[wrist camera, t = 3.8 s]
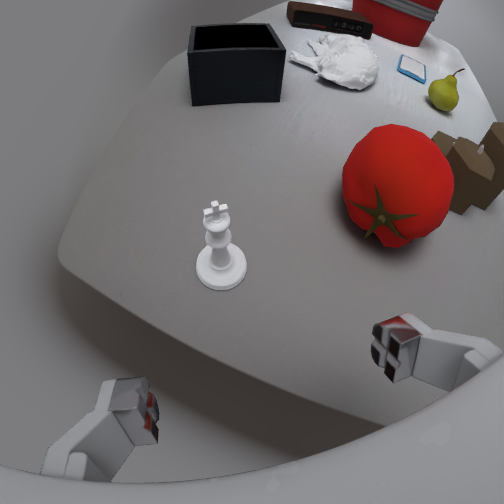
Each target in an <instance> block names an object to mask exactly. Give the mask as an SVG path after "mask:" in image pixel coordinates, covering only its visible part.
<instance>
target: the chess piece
mask: <svg viewBox="0 0 504 504" xmlns="http://www.w3.org/2000/svg"><path fill="white" fill-rule="evenodd" d="M211 206H212V208H208V209H205V210H203V213H204V218H203V224H204V227H205V228H206V230H207V232H206V235H205V241H206V243H207V244H208V246H206V247H205V248H204V249H203V250H202V251H201V252H200V254H199V255H198V258H197V261H196V272H197V275H198V277H199V279H200V280H201V282H202V283H203V284H204V285H206V286H207V287H209V288H211V289H215V290H228V289H231V288H233V287H235V286H237V285H238V284H239V283H240V282H241V281H242V280H243V279H244V277H245V275H246V272H247V262H246V258H245V255H244V253H243V252H242V251H241V249H240V248H238V247H237V246H236V245H234V244H232V243H230V242H231V239H232V235H231V232H230V231H229V229H228V227H229V225H230V216H229V215H228V213H227V212H228V207H227V204H222V205H219V204H218V201H213V202H211Z"/></svg>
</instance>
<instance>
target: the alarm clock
mask: <svg viewBox="0 0 504 504" xmlns="http://www.w3.org/2000/svg"><path fill="white" fill-rule="evenodd" d="M287 17H288V18H289V20H290V22H291V24H292V26H293V27H297V28H306V29H313V30H320V31H327V32H333V33H338V34H348V35H352V36H355V37H362V38H363V39H367V40H369V39H370V38H371V35H372V31H373V28H374V25H373V24H372V23H371V22H370V21H368V20H367V19H366V18H365V17H364V16H362V15H361V14H360V13H357V12H353V11H348V10H344V9H339V8H334V7H328V6H322V5H316V4H309V3H302V2H294V1H290V2H288V6H287Z"/></svg>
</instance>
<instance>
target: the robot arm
mask: <svg viewBox="0 0 504 504" xmlns="http://www.w3.org/2000/svg"><path fill="white" fill-rule="evenodd" d="M372 334H373V336H374V337H375V339H374V340H373V342H372V343H371V354H372V358H373V360H374V362H375V363H376V364H377V366H379V367H382V368H385V370H384V373H385V375H386V376H387V377H388V378H389V379H390V380H391V381H392V382H393V383H396V382H398V381H401V380H403V379H405V378H408V377H410V376H412V377H414V378H416V379H419V380H421V381H424V382H426V383H429V384H431V385H434V386H436V387H439V388H441V389H444V390H446V391H449V393H448V394H446V395H444V396H443V397H441V398H439V399H438V400H436V401H434V402H432V403H431V404H429V405H427V406H425V407H424V408H422V409H420V410H418V411H416V412H414V413H413V414H411V415H409V416H407V417H405V418H403V419H401V420H399V421H397V422H395V423H393V424H391V425H389V426H386V427H384V428H382V429H380V430H378V431H375V432H373V433H371V434H369V435H366V436H364V437H361V438H359V439H356V440H354V441H352V442H349V443H347V444H344V445H341V446H338V447H335V448H333V449H330V450H327V451H324V452H321V453H318V454H315V455H312V456H309V457H305V458H302V459H298V460H295V461H291V462H288V463H284V464H280V465H276V466H272V467H268V468H264V469H259V470H254V471H249V472H245V473H239V474H234V475H228V476H221V477H214V478H207V479H198V480H189V481H178V482H161V483H112V482H111V480H112V478H113V477H114V476H115V474H116V473H117V471H118V470H119V469H120V467H121V466H122V464H123V463H124V462H125V460H126V459H127V457H128V456H129V454H130V453H131V452H132V450H133V449H134V447H135V446H138V445H150V444H158V428H157V426H156V423H157V421H158V420H159V409H158V404H157V401H156V399H155V396H154V394H152V393H150V392H149V383H148V381H147V379H146V378H145V377H136V378H123V379H111V380H104V381H103V383H102V385H101V389H100V391H99V395H98V398H97V401H96V405H95V408H94V411H93V412H89V413H88V414H87V415H86V416H84V417H83V418H82V419H81V420H80V421H79V422H78V423H76V424H75V425H74V426H73V427H72V428H71V429H70V430H68V431H67V432H66V433H65V434H64V435H63V436H62V437H60V438H59V439H58V440H57V441H56V442H55V443H53V444H52V445H51V446H50V447H49V448H48V449H47V453H46V455H45V458H44V462H43V465H42V468H41V472H40V474H36V473H31V472H27V471H22V470H18V469H14V468H10V467H6V466H2V465H0V504H504V351H503V350H502V349H501V348H499V347H498V346H496V345H495V344H494V343H492V342H491V341H489V340H488V339H486V338H480V337H475V336H469V335H464V334H459V333H454V332H449V331H443V330H438V329H435V330H432V329H431V328H430V327H429V326H427V325H426V324H425V323H423V322H422V321H420V320H419V319H418V318H416V317H415V316H414V315H412V314H411V313H409V312H405V313H403V314H400V315H398V316H396V317H394V318H391V319H388V320H385V321H383V322H380V323H377V324H374V327H373V331H372Z"/></svg>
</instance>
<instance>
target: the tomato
mask: <svg viewBox="0 0 504 504" xmlns="http://www.w3.org/2000/svg"><path fill="white" fill-rule="evenodd" d="M342 187H343V195H342V196H343V199H344V201H345V204H346V207H347V210H348V213H349V216H350V218H351V220H352V221H354V222H355V223H356V224H357V225H358V226H359V227H360V228H361V229H364V230H368V232H367V233H366V235H365V237H364V239H365V238H366V237H368V236H369V235H370V234H371V233H372V232H375V234H376V235H377V236H378V238H379V239H380V241H381V242H382V244H383V245H384V247H395V248H399V247H401V246H403V245H405V244H407V243H409V242H411V241H412V240H413V239H415V238H419V237H425V236H426V235H428V234H429V233H431V232H432V231H433V230H435V229H436V228H438V227H439V226H440V225H441V223H442V222H443V220H444V218H445V217H446V215H447V213H448V210H449V207H450V203H451V199H452V195H453V191H454V176H453V173H452V170H451V167H450V164H449V162H448V161H447V159H446V158H445V156H444V155H443V153H442V152H441V150H440V149H439V147H438V146H437V144H436V143H435V142H433V141H432V140H431V139H430V138H428V137H427V136H426V135H425V134H423V133H422V132H419V131H417V130H414V129H411V128H409V127H406V126H400V125H394V124H389V125H384V126H380V127H375V128H373V129H372V130H371V131H370V132H369V133H368V134H367V135H366V136H365V137H364V138H363V139H362V140H361V141H359V142H358V143H357V144H356V146H355V147H354V149H353V150H352V152H351V153H350V155H349V157H348V159H347V161H346V163H345V165H344V167H343V173H342Z"/></svg>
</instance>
